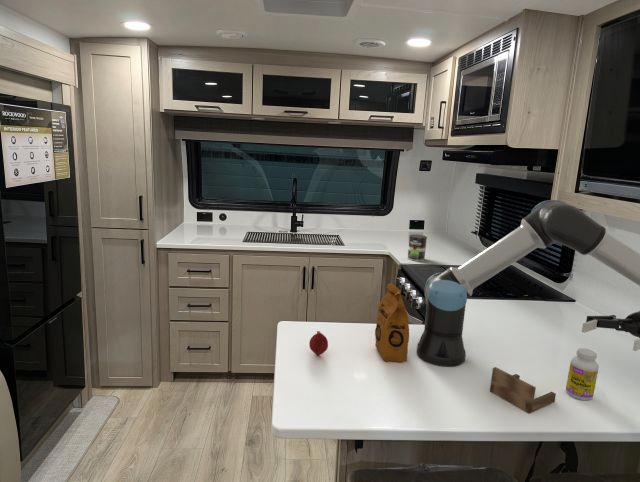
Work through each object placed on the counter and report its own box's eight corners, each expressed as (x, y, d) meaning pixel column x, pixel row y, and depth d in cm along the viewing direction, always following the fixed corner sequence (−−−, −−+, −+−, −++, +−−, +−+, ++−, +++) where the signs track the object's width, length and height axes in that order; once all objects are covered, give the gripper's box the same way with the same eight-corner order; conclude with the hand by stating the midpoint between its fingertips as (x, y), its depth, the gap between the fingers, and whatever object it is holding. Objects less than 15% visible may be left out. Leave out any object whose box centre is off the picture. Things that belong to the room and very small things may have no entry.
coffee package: (378, 363, 137) (383, 294, 133) (372, 345, 149) (376, 282, 145) (410, 364, 138) (417, 295, 133) (401, 346, 150) (407, 283, 145)
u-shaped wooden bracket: (489, 391, 124) (492, 368, 122) (514, 381, 130) (518, 359, 128) (529, 413, 114) (533, 388, 113) (554, 402, 120) (558, 378, 118)
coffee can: (422, 262, 265) (424, 238, 262) (405, 259, 269) (407, 236, 266) (426, 258, 274) (428, 235, 271) (410, 256, 278) (412, 233, 275)
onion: (327, 351, 144) (328, 327, 142) (327, 359, 138) (329, 335, 136) (308, 350, 143) (309, 327, 142) (308, 359, 138) (310, 334, 136)
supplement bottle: (563, 395, 124) (570, 351, 121) (567, 385, 129) (574, 344, 126) (591, 404, 120) (599, 359, 117) (594, 394, 125) (602, 351, 122)
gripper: (691, 350, 128) (656, 367, 117) (599, 321, 148) (563, 333, 137) (696, 325, 126) (662, 340, 115) (603, 299, 147) (566, 309, 136)
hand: (608, 336), depth 126 cm, fingers open, 13 cm apart
